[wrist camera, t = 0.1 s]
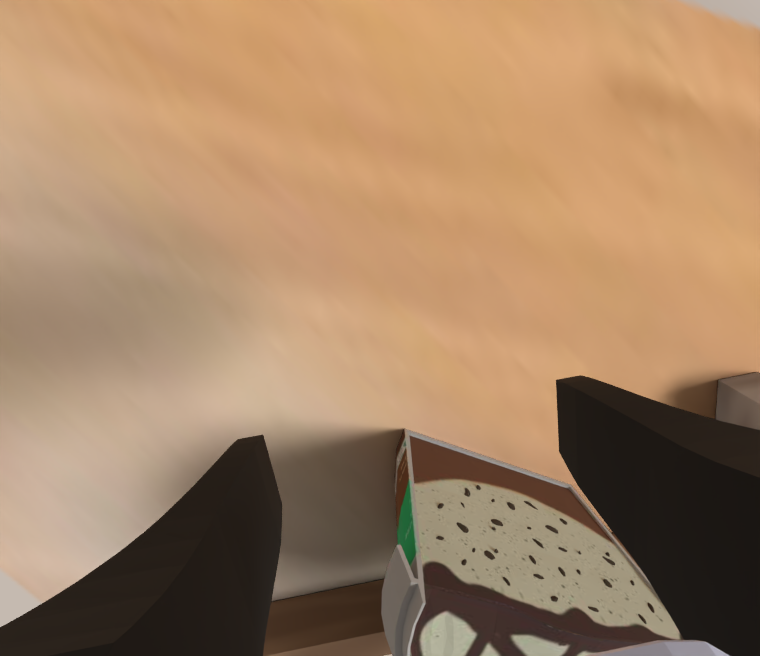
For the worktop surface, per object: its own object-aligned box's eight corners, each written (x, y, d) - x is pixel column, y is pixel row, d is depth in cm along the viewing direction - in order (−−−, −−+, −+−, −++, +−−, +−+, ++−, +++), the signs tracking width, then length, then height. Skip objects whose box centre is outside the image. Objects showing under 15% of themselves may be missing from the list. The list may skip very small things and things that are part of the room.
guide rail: (742, 528, 28) (788, 571, 25) (269, 625, 27) (262, 680, 24) (758, 372, 25) (813, 400, 22) (221, 475, 24) (207, 519, 21)
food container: (325, 522, 25) (323, 745, 16) (375, 418, 23) (405, 598, 14) (537, 582, 28) (645, 805, 18) (595, 492, 26) (746, 686, 17)
